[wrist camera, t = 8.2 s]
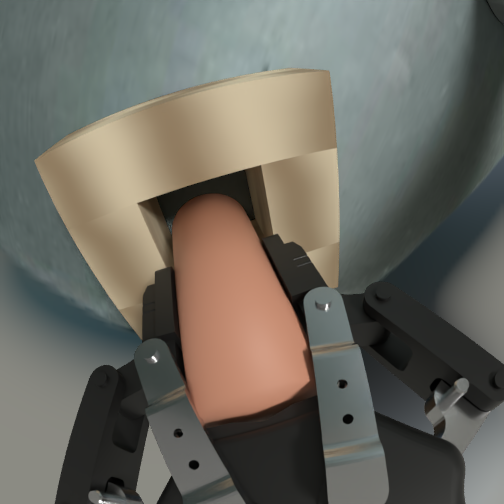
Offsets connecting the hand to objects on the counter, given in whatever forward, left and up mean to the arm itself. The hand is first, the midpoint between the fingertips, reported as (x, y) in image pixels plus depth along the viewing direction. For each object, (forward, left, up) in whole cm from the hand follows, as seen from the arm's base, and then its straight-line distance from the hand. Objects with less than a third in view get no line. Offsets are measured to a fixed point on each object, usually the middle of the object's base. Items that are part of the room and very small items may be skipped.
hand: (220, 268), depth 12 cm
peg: (0, 0, -3) cm, 3 cm away
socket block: (0, 0, -8) cm, 8 cm away
